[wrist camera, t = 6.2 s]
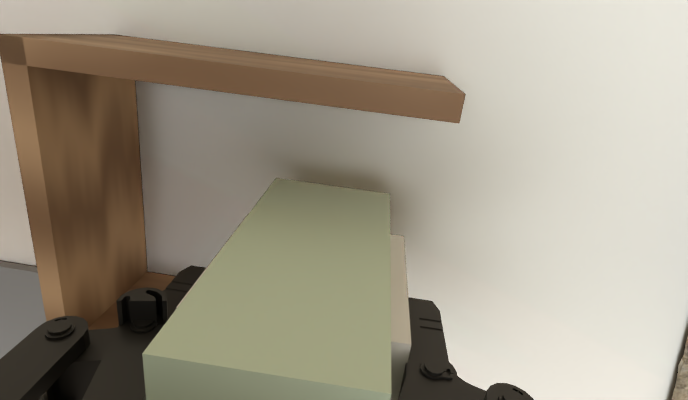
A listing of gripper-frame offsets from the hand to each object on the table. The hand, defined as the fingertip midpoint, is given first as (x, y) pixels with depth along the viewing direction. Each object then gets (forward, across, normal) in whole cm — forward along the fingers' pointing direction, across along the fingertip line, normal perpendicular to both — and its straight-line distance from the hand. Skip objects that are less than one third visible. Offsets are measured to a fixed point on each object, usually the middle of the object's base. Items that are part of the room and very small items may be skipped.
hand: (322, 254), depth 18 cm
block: (+2, 0, 0) cm, 2 cm away
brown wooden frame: (+6, -4, 0) cm, 8 cm away
